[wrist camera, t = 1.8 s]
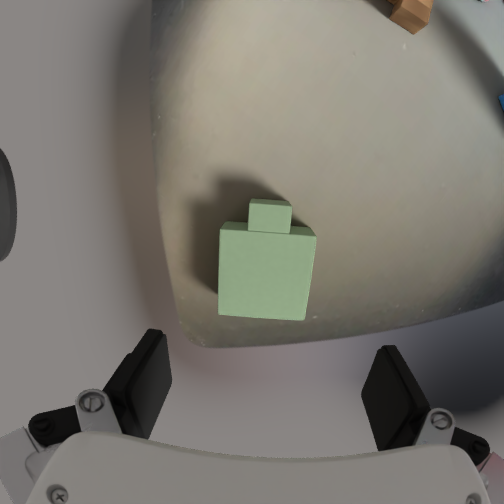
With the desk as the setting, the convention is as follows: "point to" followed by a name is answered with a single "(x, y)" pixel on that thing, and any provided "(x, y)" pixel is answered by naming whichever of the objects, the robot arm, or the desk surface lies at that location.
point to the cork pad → (411, 13)
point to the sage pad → (265, 264)
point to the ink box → (501, 100)
